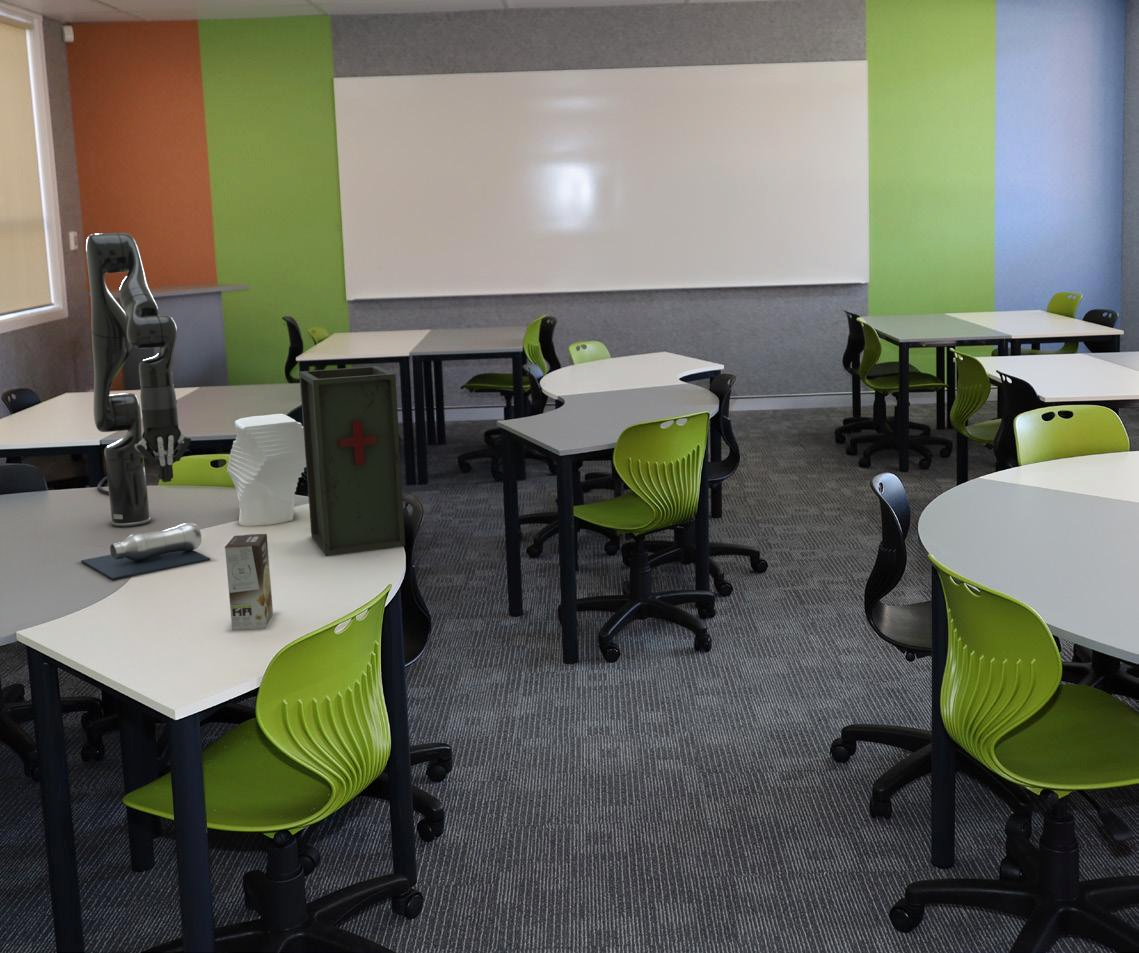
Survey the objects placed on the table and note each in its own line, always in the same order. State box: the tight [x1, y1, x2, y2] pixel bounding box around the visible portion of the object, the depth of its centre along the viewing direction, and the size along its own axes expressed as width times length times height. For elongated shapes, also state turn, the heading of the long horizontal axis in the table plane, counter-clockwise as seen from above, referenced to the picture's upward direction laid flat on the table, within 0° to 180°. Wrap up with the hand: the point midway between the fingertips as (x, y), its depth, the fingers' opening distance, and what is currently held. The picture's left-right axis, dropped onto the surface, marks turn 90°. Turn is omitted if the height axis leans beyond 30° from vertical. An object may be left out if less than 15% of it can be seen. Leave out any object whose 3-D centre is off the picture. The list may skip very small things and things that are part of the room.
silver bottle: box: [109, 522, 203, 561], centre depth 276 cm, size 6×7×20 cm
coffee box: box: [224, 533, 274, 631], centre depth 229 cm, size 9×6×16 cm
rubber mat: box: [80, 550, 211, 581], centre depth 275 cm, size 20×22×1 cm
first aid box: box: [298, 365, 406, 557], centre depth 283 cm, size 18×18×40 cm
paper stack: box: [226, 413, 306, 527], centre depth 313 cm, size 21×27×26 cm
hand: (166, 481), depth 275 cm, fingers closed
